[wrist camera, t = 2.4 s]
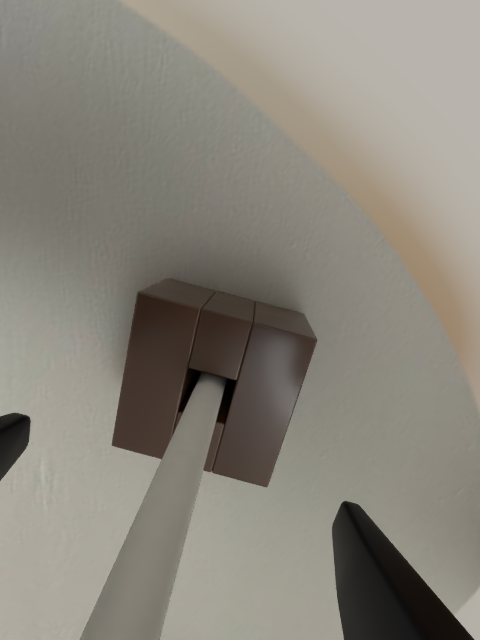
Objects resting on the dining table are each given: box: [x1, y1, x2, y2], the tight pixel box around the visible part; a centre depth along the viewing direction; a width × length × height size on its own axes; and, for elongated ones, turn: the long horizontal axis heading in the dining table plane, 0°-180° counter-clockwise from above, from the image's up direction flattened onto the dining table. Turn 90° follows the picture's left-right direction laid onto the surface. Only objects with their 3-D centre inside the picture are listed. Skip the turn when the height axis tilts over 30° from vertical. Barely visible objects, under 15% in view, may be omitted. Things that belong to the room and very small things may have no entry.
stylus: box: [80, 371, 227, 640], centre depth 10 cm, size 1×1×13 cm
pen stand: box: [112, 279, 317, 487], centre depth 15 cm, size 7×7×4 cm
